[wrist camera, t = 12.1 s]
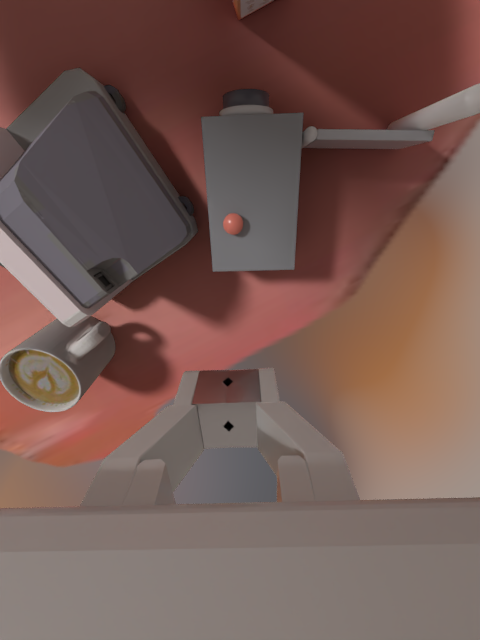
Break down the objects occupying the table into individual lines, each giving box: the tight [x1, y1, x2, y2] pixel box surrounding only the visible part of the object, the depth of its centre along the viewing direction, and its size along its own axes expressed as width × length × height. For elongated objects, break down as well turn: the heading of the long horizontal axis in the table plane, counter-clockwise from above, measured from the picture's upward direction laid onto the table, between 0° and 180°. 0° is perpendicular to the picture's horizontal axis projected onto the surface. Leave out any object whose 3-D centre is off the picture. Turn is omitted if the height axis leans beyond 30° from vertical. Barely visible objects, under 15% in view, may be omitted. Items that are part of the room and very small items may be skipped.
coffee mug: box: [0, 316, 115, 412], centre depth 38 cm, size 13×10×10 cm
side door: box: [301, 83, 480, 149], centre depth 25 cm, size 12×3×12 cm, turn 89°
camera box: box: [201, 89, 303, 272], centre depth 29 cm, size 16×9×8 cm, turn 2°
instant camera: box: [0, 68, 198, 327], centre depth 27 cm, size 21×21×15 cm
